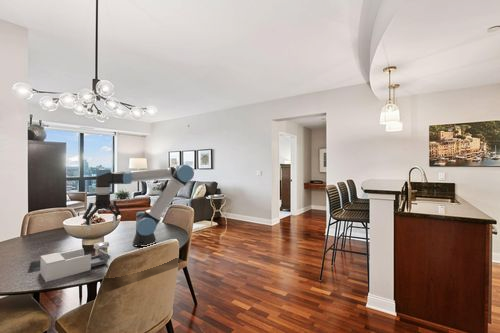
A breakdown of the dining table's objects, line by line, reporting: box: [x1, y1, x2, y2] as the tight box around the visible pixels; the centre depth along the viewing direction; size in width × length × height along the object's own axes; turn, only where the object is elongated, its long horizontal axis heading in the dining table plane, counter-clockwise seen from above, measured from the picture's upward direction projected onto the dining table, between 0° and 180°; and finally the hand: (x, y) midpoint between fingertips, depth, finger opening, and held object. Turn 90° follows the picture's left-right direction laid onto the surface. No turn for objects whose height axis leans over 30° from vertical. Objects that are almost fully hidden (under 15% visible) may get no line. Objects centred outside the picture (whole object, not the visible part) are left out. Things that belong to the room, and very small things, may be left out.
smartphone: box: [27, 260, 41, 274], centre depth 125 cm, size 8×1×15 cm
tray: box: [91, 249, 109, 268], centre depth 126 cm, size 17×11×5 cm
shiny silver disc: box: [93, 241, 110, 250], centre depth 143 cm, size 8×8×2 cm
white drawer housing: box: [39, 248, 92, 283], centre depth 119 cm, size 18×14×9 cm
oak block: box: [94, 247, 108, 256], centre depth 143 cm, size 5×5×5 cm
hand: (102, 228), depth 142 cm, fingers open, 13 cm apart
